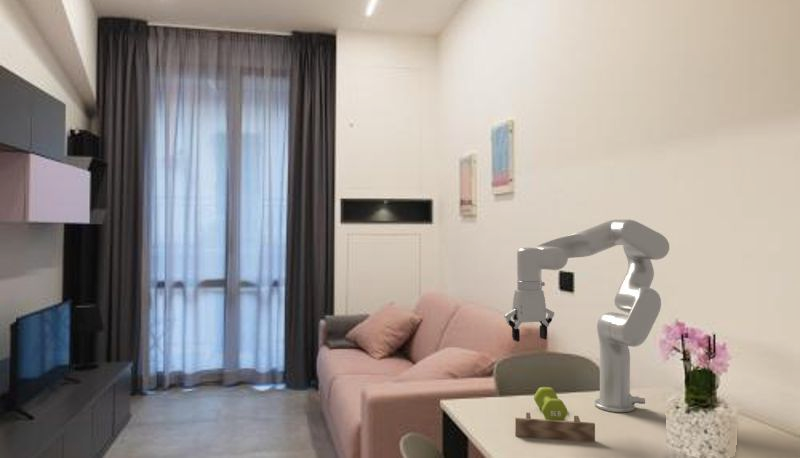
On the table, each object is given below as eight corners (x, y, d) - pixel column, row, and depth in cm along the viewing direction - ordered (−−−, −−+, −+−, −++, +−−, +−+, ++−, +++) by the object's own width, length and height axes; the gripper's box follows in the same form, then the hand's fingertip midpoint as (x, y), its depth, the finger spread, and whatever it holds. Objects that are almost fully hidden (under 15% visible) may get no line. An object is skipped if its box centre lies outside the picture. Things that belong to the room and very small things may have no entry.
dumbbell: (568, 424, 177) (568, 401, 176) (542, 424, 177) (542, 400, 177) (556, 407, 193) (557, 386, 193) (533, 407, 193) (533, 385, 193)
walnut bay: (589, 428, 173) (589, 411, 173) (594, 441, 162) (595, 424, 162) (515, 423, 177) (515, 406, 177) (515, 436, 166) (515, 418, 166)
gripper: (547, 284, 190) (547, 335, 190) (499, 286, 185) (500, 339, 185) (559, 286, 183) (560, 340, 183) (510, 288, 177) (511, 344, 178)
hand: (529, 339), depth 184 cm, fingers open, 9 cm apart
